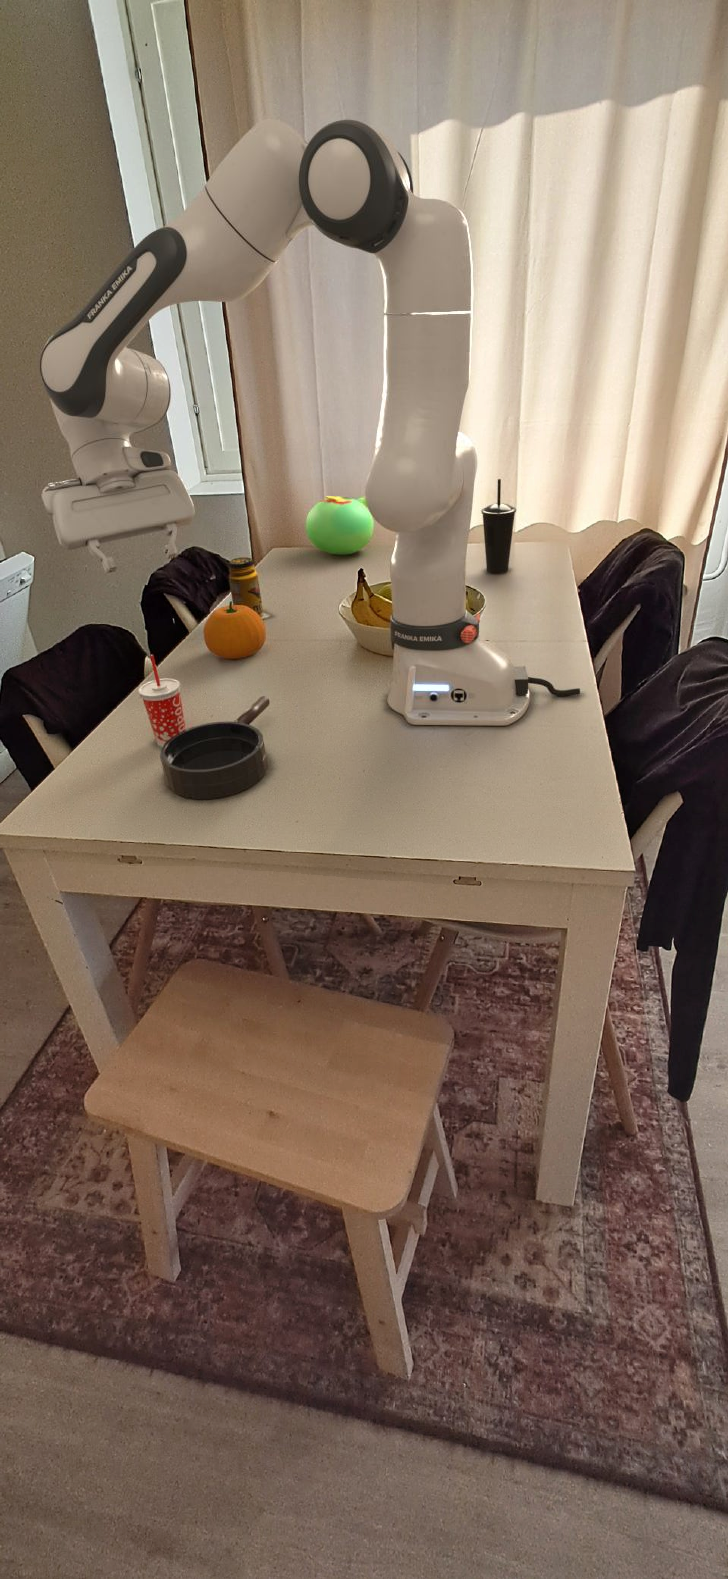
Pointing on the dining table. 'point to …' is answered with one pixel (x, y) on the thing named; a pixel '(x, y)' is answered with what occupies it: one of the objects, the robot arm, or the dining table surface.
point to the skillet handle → (252, 713)
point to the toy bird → (340, 525)
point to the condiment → (245, 585)
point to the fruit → (234, 632)
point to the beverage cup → (163, 706)
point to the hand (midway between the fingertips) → (142, 564)
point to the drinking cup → (498, 534)
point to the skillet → (214, 760)
